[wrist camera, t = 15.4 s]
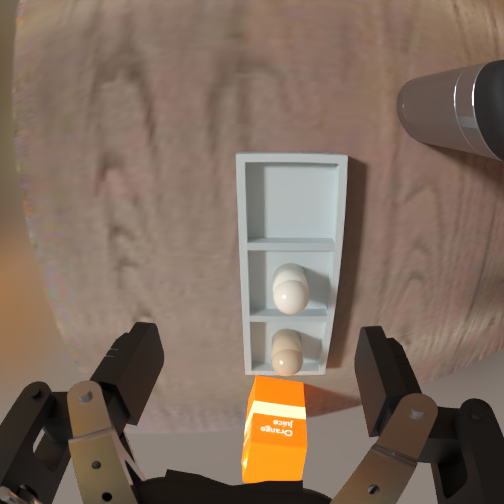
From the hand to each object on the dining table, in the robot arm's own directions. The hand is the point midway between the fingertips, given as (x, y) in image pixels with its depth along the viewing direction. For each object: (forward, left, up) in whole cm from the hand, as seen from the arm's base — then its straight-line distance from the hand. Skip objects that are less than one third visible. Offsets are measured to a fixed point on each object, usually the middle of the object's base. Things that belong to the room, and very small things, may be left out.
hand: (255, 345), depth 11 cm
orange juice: (-1, +37, -30) cm, 48 cm away
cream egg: (-3, +12, -29) cm, 31 cm away
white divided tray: (-3, +12, -30) cm, 32 cm away
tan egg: (-3, +23, -29) cm, 37 cm away
